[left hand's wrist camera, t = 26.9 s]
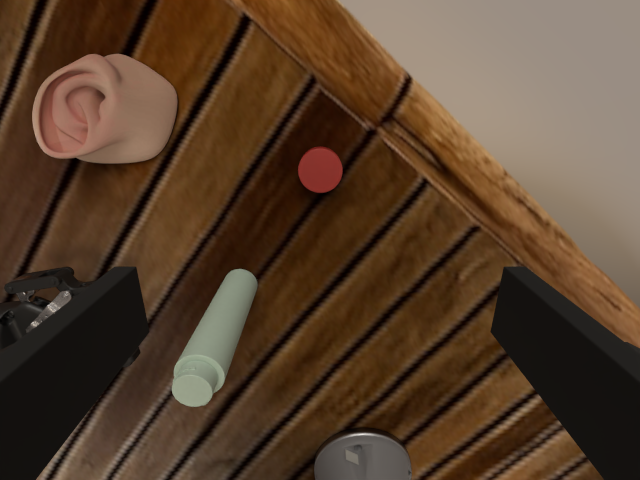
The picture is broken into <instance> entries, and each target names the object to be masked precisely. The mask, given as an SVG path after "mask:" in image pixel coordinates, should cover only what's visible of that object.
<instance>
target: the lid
mask: <svg viewBox="0 0 640 480" xmlns="http://www.w3.org/2000/svg"><path fill="white" fill-rule="evenodd" d="M298 174H299V178H300V180H301V182H302V184H303V185H304V186H305V187H306V188H307V189H309V190H311V191H313V192H317V193H324V192H328V191H330V190H332V189H333V188H335V187H336V186H337V185H338V183H339V182H340V180H341V177H342V164H341V161H340V159H339V157H338V156H337V154H336V153H335V152H334V151H332V150H331V149H329V148H326V147H314V148H312V149H310V150H308V151H307V152H306V153H305V154H304V155H303V157H302V158H301V161H300V163H299V167H298Z"/></svg>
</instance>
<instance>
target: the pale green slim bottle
mask: <svg viewBox="0 0 640 480" xmlns="http://www.w3.org/2000/svg"><path fill="white" fill-rule="evenodd" d="M256 290H257V280H256V278H255V276H254V275H253V274H252V273H250V272H249V271H247V270H243V269H236V270H233V271H231V272H229V273H228V274H227V275H226V277H225V279H224V280H223V282H222V284H221V286H220V288H219V289H218V291H217V293H216V295H215V296H214V298H213V300H212V302H211V303H210V305H209V307H208V309H207V310H206V312H205V314H204V316H203V318H202V319H201V321H200V323H199V325H198V326H197V328H196V330H195V332H194V333H193V335H192V337H191V339H190V340H189V342H188V344H187V346H186V347H185V349H184V351H183V353H182V355H181V356H180V358H179V360H178V362H177V363H176V365H175V368H174V377H175V378H174V380H173V385H172V393H173V395H174V397H175V398H176V399H177V400H178V401H179V402H180V403H182V404H184V405H187V406H192V407H197V406H202V405H203V406H204V405H205V404H207V403H208V402H209V401H210V399H211V398H212V395H213V393H215V392H216V391H218V390H219V389H220V388H221V387H222V385H223V383H224V381H225V378H226V375H227V372H228V370H229V367H230V364H231V361H232V358H233V355H234V353H235V350H236V347H237V344H238V341H239V338H240V336H241V333H242V330H243V327H244V324H245V321H246V319H247V316H248V313H249V310H250V307H251V304H252V302H253V299H254V296H255V293H256Z"/></svg>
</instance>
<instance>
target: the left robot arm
mask: <svg viewBox="0 0 640 480" xmlns="http://www.w3.org/2000/svg"><path fill="white" fill-rule="evenodd" d="M148 333H149V328H148V323H147V318H146V313H145V308H144V303H143V298H142V293H141V288H140V284H139V279H138V274H137V269H136V267H114V268H112V269H111V270H110V271H108V272H107V273H106V274H104V275H103V276H102V277H100V278H99V279H98V280H97V281H95V282H94V283H93V284H91V285H90V286H89V287H87V288H86V289H85V290H83V291H82V292H81V293H79V294H78V295H77V296H76V297H74V298H73V299H72V300H70V301H69V302H68V303H66V304H65V305H64V306H62V307H61V308H60V309H58V310H57V311H56V312H55V313H53V314H52V315H51V316H49V317H48V318H47V319H45V320H44V321H43V322H41V323H40V324H39V325H37V326H36V327H35V328H34V329H32V330H31V331H30V332H28V333H27V334H26V335H24V336H23V337H22V338H20V339H19V340H18V341H16V342H15V343H13V344H11V345H9V346H7V347H5V348H3V349H1V350H0V480H36V479H37V477H38V476H39V475H40V473H41V472H42V471H43V469H44V468H45V467H46V466H47V464H48V463H49V462H50V460H51V459H52V458H53V456H54V455H55V454H56V453H57V451H58V450H59V449H60V447H61V446H62V445H63V443H64V442H65V441H66V440H67V438H68V437H69V436H70V434H71V433H72V432H73V431H74V429H75V428H76V427H77V425H78V424H79V423H80V421H81V420H82V419H83V418H84V416H85V415H86V414H87V412H88V411H89V410H90V408H91V407H92V406H93V405H94V403H95V402H96V401H97V399H98V398H99V397H100V395H101V394H102V393H103V392H104V390H105V389H106V388H107V386H108V385H109V384H110V382H111V381H112V380H113V379H114V377H115V376H116V375H117V373H118V372H119V371H120V369H121V368H122V367H123V366H124V364H125V363H126V362H127V360H128V359H129V358H130V356H131V355H132V354H133V353H134V351H135V350H136V349H137V347H138V346H139V345H140V343H141V342H142V341H143V340H144V338H145V337H146V336H147V334H148ZM491 333H492V334H493V336H494V337H495V338H496V340H497V341H498V342H499V343H500V345H501V346H502V347H503V349H504V350H505V351H506V353H507V354H508V355H509V356H510V358H511V359H512V360H513V362H514V363H515V364H516V366H517V367H518V368H519V369H520V371H521V372H522V373H523V375H524V376H525V377H526V379H527V380H528V381H529V382H530V384H531V385H532V386H533V388H534V389H535V390H536V392H537V393H538V394H539V395H540V397H541V398H542V399H543V401H544V402H545V403H546V405H547V406H548V407H549V408H550V410H551V411H552V412H553V414H554V415H555V416H556V418H557V419H558V420H559V421H560V423H561V424H562V425H563V427H564V428H565V429H566V431H567V432H568V433H569V434H570V436H571V437H572V438H573V440H574V441H575V442H576V443H577V445H578V446H579V447H580V449H581V450H582V451H583V453H584V454H585V455H586V456H587V458H588V459H589V460H590V462H591V463H592V464H593V466H594V467H595V468H596V469H597V471H598V472H599V473H600V475H601V476H602V477H603V479H604V480H640V348H638V347H636V346H634V345H632V344H630V343H628V342H624V341H622V340H621V339H620V338H618V337H617V336H616V335H614V334H613V333H612V332H610V331H609V330H608V329H606V328H605V327H604V326H603V325H601V324H600V323H599V322H597V321H596V320H595V319H593V318H592V317H591V316H589V315H588V314H587V313H585V312H584V311H583V310H582V309H580V308H579V307H578V306H576V305H575V304H574V303H572V302H571V301H570V300H568V299H567V298H566V297H564V296H563V295H562V294H561V293H559V292H558V291H557V290H555V289H554V288H553V287H551V286H550V285H549V284H547V283H546V282H545V281H543V280H542V279H541V278H540V277H538V276H537V275H536V274H534V273H533V272H532V271H530V270H529V269H528V268H526V267H504V269H503V274H502V279H501V284H500V288H499V293H498V298H497V303H496V308H495V313H494V318H493V323H492V328H491ZM314 473H315V480H411V476H412V471H411V463H410V458H409V454H408V451H407V449H406V447H405V446H404V444H403V443H402V442H401V441H400V440H399V439H398V438H396V437H395V436H393V435H391V434H389V433H387V432H385V431H382V430H378V429H372V428H355V429H350V430H346V431H343V432H340V433H338V434H336V435H334V436H332V437H330V438H329V439H328V440H326V441H325V442H324V443H323V444H322V445H321V447H320V448H319V449H318V451H317V453H316V456H315V462H314Z"/></svg>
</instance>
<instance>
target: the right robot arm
mask: <svg viewBox="0 0 640 480" xmlns="http://www.w3.org/2000/svg"><path fill="white" fill-rule="evenodd" d="M73 275H74V270H73V269H72V268H70V267H62V268H56V269H50V270H44V271H39V272H33V273H27V274H24V275H22V276H20V277H18V278H16V279H15V280H13V281H11V282H9V283H8V284H6V285H5V287H4V288H5V290H6V291H7V292H8V293H10V294H15V293H16V294H17V296H18V298H19V300H20V301H15V302H6V303H0V350H1V349H3V348H5V347H7V346H9V345H11V344H13V343H15V342H16V341H18V340H19V339H20V338H22V337H23V336H24V335H26V334H27V333H28V332H30V331H31V330H32V329H34V328H35V327H36V326H37V325H39V324H40V323H41V322H43V321H44V320H45V319H47V318H48V317H49V316H51V315H52V314H53V313H55V312H56V311H57V310H58V309H60V308H61V307H62V306H64V305H65V304H66V303H68V302H69V301H70V300H72V299H73V298H74V297H76V296H77V295H78V294H79V293H81V292H82V291H83V290H85V289H86V288H87V287H89V286H90V285H91V284H93V283H94V282H95V281H91V282H82V281H78V280H76V278H75V277H74V276H73ZM51 287H57V288H58V290H59V291H60V293H59V294H58V296H57V297H56V298H55V299H54V300H53V301H52V302H51V301H48V300H46V299H44V298H41V297H37V296H35V293H36V292H38V291H39V290H40V289H45V288H51ZM139 354H140V350H139V347H137V349H136V350H135V351H134V353H133V354H132V355H131V356H130V358H129V359H128V360H127V362H126V363H125V364H124V366H123V367H127V366H129V365H131V364H132V362H134V361H135V359H136V358H137V357H138V355H139Z"/></svg>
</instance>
